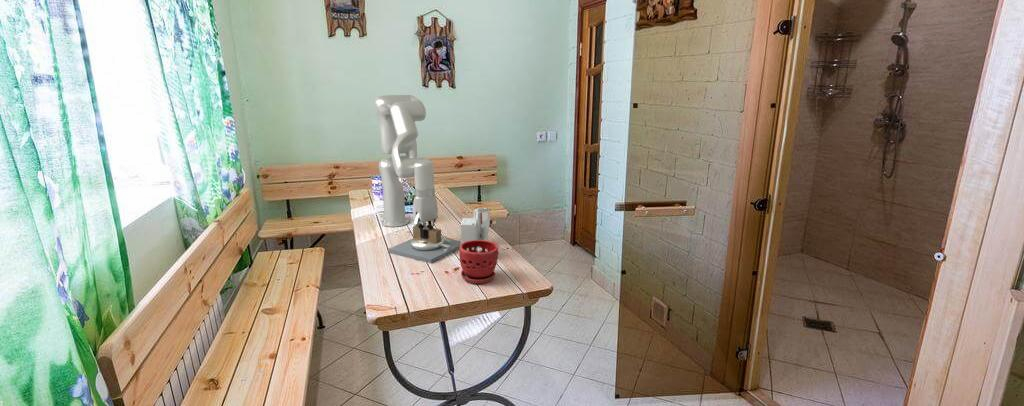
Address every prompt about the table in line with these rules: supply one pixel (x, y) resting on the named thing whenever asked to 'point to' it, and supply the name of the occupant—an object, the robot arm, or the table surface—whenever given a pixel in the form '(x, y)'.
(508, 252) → the table surface
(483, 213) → the beer glass
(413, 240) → the tuning dial
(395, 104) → the robot arm
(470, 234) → the skincare box
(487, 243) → the plant pot
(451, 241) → the dial plate
